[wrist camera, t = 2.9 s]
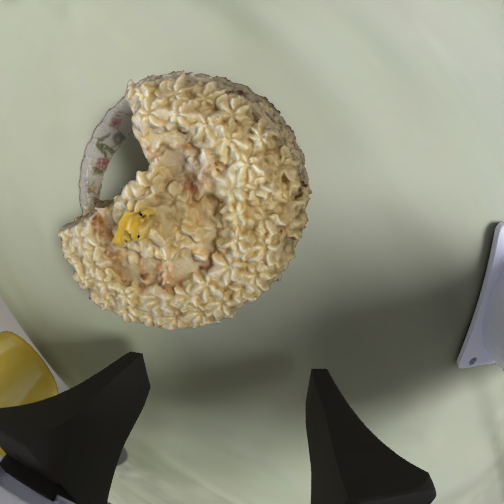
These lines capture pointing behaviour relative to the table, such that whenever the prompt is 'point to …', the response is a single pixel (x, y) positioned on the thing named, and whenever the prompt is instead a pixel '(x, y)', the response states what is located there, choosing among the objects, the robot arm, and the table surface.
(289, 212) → the cake
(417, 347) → the table surface
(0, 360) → the plant pot
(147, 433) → the table surface
